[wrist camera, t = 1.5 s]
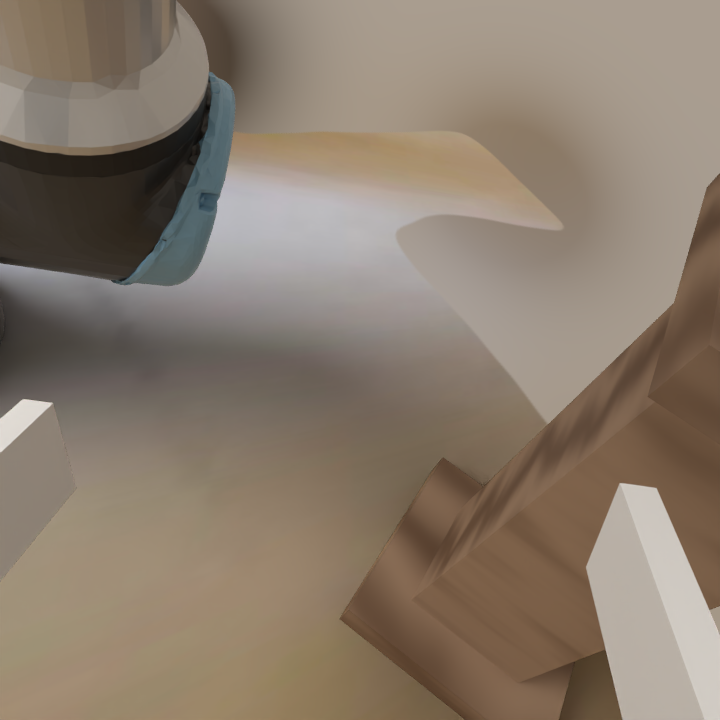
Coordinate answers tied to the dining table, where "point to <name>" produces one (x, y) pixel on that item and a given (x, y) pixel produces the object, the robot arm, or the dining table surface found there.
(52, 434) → the robot arm
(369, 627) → the stand
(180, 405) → the dining table surface
